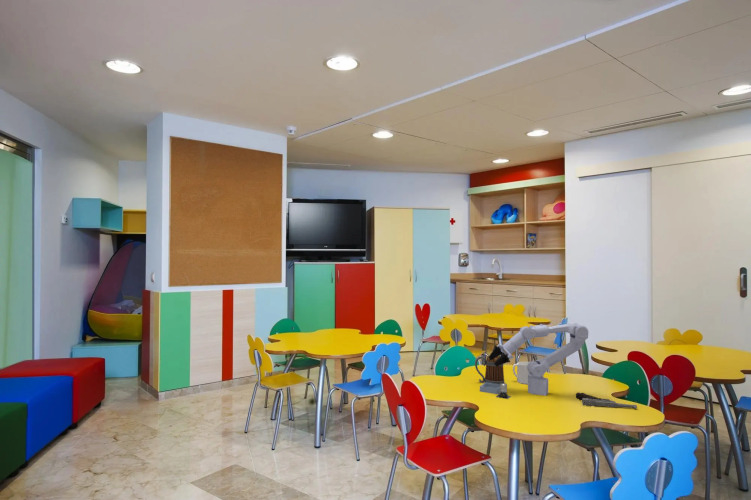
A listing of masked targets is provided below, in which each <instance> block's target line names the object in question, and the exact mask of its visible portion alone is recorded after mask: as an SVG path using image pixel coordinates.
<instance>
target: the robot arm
mask: <svg viewBox="0 0 751 500" xmlns="http://www.w3.org/2000/svg"><path fill="white" fill-rule="evenodd" d="M557 333H558V334H559V333H566V334H567V333H568V334H569V342H567V343H566V344H565V345H562V346H561V347H559V348H558V349H556V350H555V351H553V352H550V353H549V354H547V355H546V356H544V357H543V358H538V359H536V360H532V361H528V362H529V363H528V365H527V369H528V371H529V374H528V385H527V393H529V394H531V395H537V396H538V395H539V396H544V397H545V396H547V395H548V394H549V378H548V377H544V375H545V373H546V372H548V371H549V370H550V368H551V367H552V366H554V365H556V364H557V363H559V362H561V361H563V360H565V359H566V358H567V357H569V356H571V355H573V354H575V353H577V352H578V351H579V350H581V349H582V347H583V345H584V344H585V342H586V340H587V339H588V338H589V329H588V328H587V326H584V325H581V324H578V323H564V324H558V325H552V326H547V325H546V324H543V323H540V324H539V325H529V326H522V327H520V328H519V331H518V332H517V333H516V334H514V335H513V336H512V337H510V339H509V340H507V341H506V342H505V343H503V344H501V343H498V344H497V345H494V348H493V350H492V351H491V353H490V354H489V355H490V356H489V355H488V356H489V359H490V360H493V359H494V358H496V357H497V356H500V357H499V358H498V359H497V360H496V361H495V363H494V364H495V365H496V367H497V366H499V365H502V364H503V365H504V364H506V363H508V364H509V363H511V360H513V358H514V356H513V355H512V354H513V353H514V352H516V350H518V349H520V347H521V346H523V345H524V344H525V343H526V342H527V341H528V340H533V338H534V339H535V338H542V337H543V338H544V337H548V336H549V335H550V334H557Z"/></svg>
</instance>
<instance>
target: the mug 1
mask: <svg viewBox="0 0 751 500" xmlns="http://www.w3.org/2000/svg"><path fill="white" fill-rule="evenodd" d="M489 356H490V354H489V355H487V356H486V358H485V357H484V356H480V355H479V356H477V357H476V358H475V360H474V366H475V370H476V371H477V373H478V374H479V375H480V376H481V378H482V379H481V378H480V379H478V381H479V382H480V383H481V384H484V383H486V382H487V383H493V384H499V385H500V384H501V383H505V375H504V373H505V372H504V364H502V365H499V366H497V367H496V365H495V364H494V363H495V361H496V360H497V359H498V358H499V357H500V356H501V355H499V356H497V357H496V358H494V359H493V360H490V359H489ZM480 359H481V360H483V363H482V365H483V367H485V373H484V374H485V375H483V374H482V372H481V371H480V370H479V368H478V362H479V360H480Z"/></svg>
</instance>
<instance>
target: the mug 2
mask: <svg viewBox="0 0 751 500" xmlns="http://www.w3.org/2000/svg"><path fill="white" fill-rule="evenodd" d="M529 362H530V361H517V363H514V364H513V365H512V372H513V375H514V376H515V377H516V382H517V383H518V384H521V385H527V386H528V374H529V371H528V369H527V365H528V363H529ZM515 367H516V368H515ZM516 369H517V370H516ZM516 371H517V372H516Z"/></svg>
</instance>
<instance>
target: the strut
mask: <svg viewBox="0 0 751 500" xmlns="http://www.w3.org/2000/svg"><path fill="white" fill-rule="evenodd" d="M498 395H499V396H500V397H503V398H502V399H504V398H507V397H508V396H509V395H508V384H507V383H501V384H500V393H499V394H498Z"/></svg>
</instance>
